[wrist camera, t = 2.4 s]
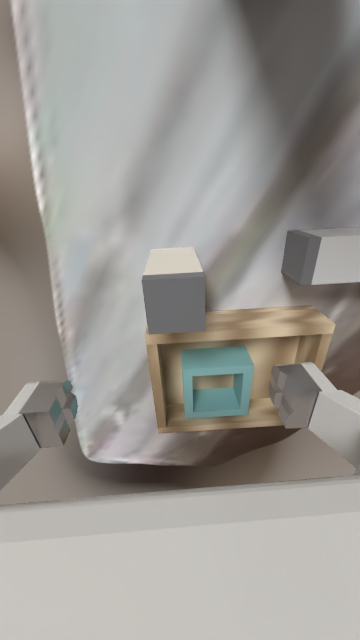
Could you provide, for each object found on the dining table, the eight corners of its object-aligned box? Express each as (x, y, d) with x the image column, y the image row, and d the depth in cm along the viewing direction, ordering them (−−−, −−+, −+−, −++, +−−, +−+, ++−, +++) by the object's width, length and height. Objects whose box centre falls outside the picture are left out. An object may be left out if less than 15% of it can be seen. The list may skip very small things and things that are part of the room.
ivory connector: (192, 246, 23) (205, 276, 15) (193, 286, 25) (205, 331, 17) (151, 249, 23) (141, 280, 15) (155, 288, 25) (148, 334, 17)
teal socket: (244, 345, 28) (254, 365, 25) (240, 392, 31) (247, 414, 28) (180, 349, 28) (182, 369, 24) (183, 396, 31) (184, 418, 28)
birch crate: (311, 305, 26) (335, 324, 23) (289, 397, 33) (305, 423, 29) (148, 314, 26) (145, 336, 22) (159, 405, 33) (158, 433, 29)
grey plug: (381, 225, 23) (420, 231, 19) (367, 266, 25) (401, 279, 21) (287, 230, 23) (309, 238, 19) (281, 271, 24) (299, 285, 21)
